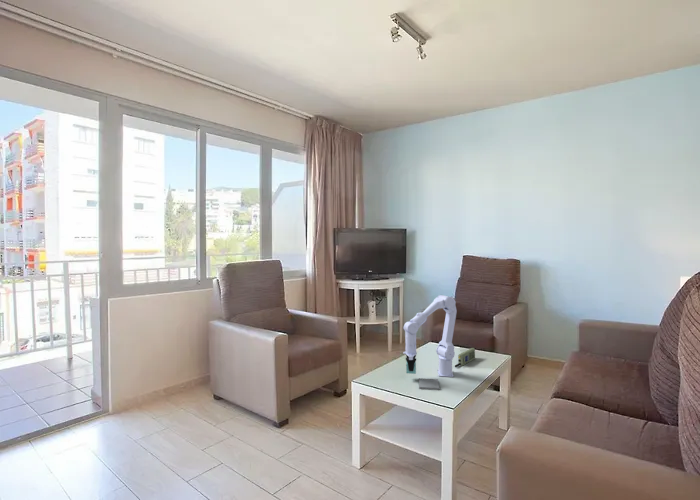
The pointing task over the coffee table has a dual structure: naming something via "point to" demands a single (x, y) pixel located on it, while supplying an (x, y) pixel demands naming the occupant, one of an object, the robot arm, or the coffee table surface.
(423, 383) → the slate mat
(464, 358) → the handheld radio
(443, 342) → the robot arm
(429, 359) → the coffee table surface
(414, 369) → the teal block
